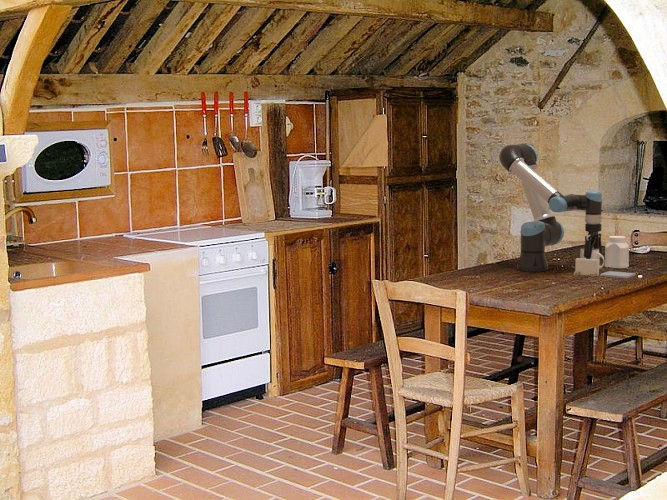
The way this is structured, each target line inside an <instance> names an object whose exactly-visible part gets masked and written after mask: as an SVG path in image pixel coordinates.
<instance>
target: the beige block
mask: <svg viewBox="0 0 667 500" xmlns="http://www.w3.org/2000/svg"><path fill="white" fill-rule="evenodd" d="M588 275H589V277H591V278H595V277H600V269H599V260H593V259H580V258H579V257H577V258H575V271H574V272H573V276H575V277H577V276H588Z"/></svg>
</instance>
